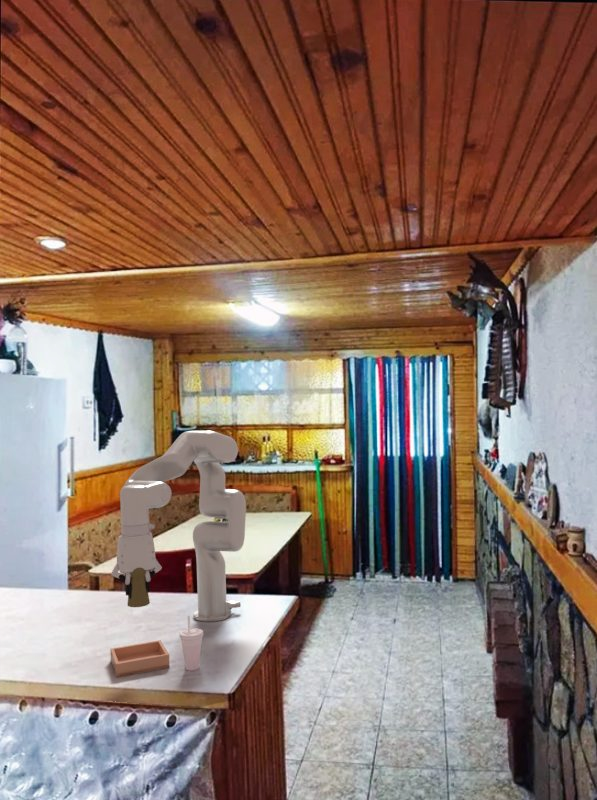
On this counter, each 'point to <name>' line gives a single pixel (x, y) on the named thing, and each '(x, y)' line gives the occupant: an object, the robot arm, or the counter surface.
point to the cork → (138, 589)
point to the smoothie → (191, 646)
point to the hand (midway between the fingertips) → (137, 595)
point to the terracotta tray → (139, 658)
